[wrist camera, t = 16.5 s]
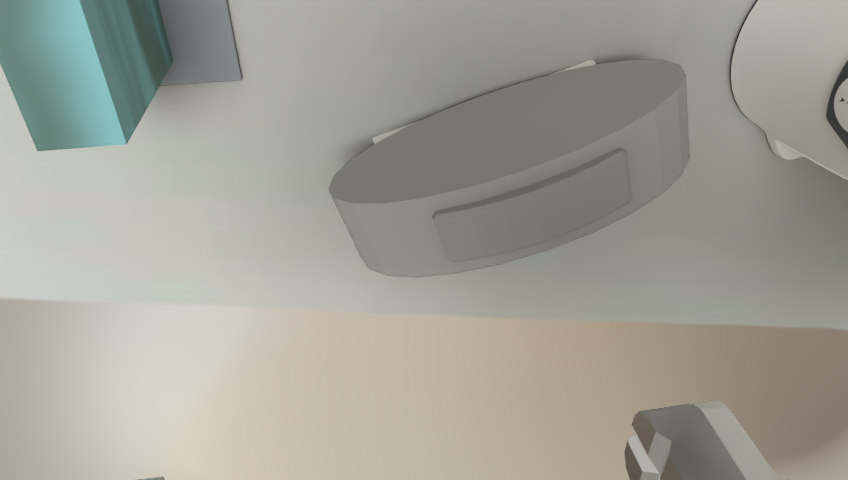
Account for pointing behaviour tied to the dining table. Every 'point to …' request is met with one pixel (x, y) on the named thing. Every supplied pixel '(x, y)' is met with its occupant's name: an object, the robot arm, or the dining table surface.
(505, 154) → the alarm clock
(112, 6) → the teal tag
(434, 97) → the dining table surface
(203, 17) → the slate mat
